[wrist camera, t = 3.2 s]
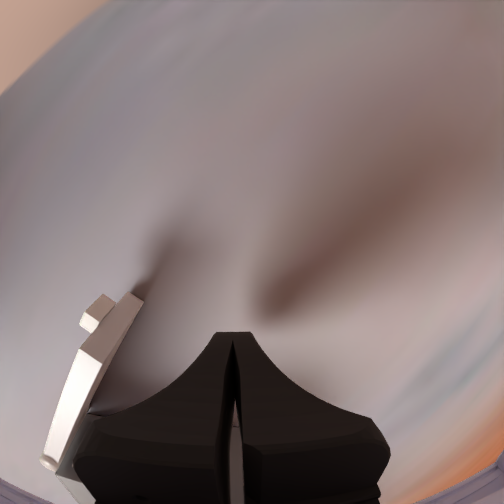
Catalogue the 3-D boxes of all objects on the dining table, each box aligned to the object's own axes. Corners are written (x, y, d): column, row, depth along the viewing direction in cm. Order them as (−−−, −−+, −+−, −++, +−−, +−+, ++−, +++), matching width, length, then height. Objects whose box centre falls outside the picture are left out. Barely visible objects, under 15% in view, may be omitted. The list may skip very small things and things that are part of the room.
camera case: (118, 477, 15) (100, 537, 9) (85, 411, 13) (48, 483, 8) (255, 487, 16) (261, 556, 10) (256, 425, 14) (265, 516, 8)
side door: (87, 412, 13) (56, 473, 8) (65, 398, 13) (29, 456, 8) (149, 297, 12) (105, 365, 7) (119, 278, 12) (61, 334, 7)
